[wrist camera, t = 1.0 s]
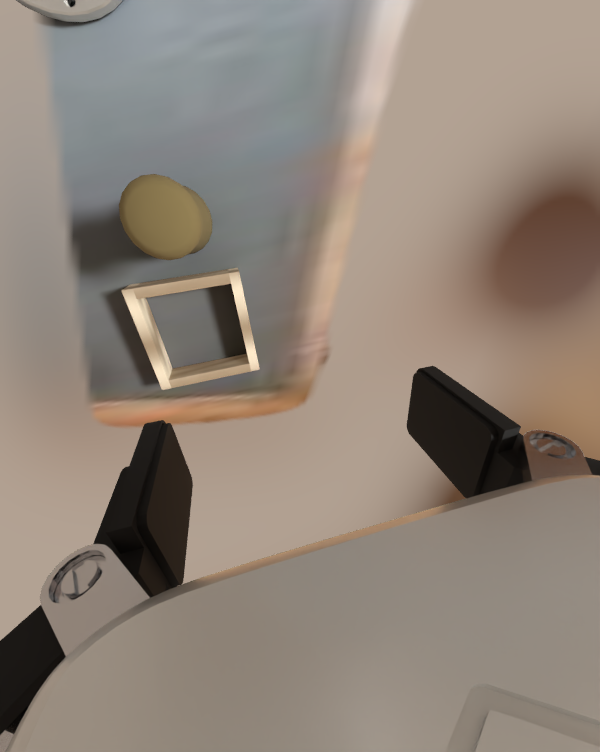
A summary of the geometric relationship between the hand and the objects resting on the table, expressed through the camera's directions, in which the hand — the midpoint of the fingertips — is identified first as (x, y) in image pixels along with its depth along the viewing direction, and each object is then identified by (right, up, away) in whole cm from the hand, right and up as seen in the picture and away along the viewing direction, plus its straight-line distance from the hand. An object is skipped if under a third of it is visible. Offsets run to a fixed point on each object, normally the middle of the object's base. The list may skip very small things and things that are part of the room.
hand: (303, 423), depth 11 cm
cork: (-12, +17, +17) cm, 27 cm away
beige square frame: (-11, +8, +22) cm, 26 cm away
